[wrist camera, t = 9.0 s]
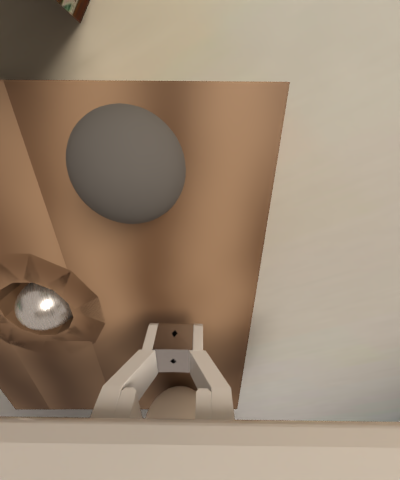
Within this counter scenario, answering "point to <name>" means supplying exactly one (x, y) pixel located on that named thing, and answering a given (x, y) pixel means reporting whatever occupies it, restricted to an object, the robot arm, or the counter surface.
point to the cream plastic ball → (174, 404)
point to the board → (132, 235)
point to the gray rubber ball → (125, 163)
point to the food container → (75, 7)
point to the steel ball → (41, 308)
